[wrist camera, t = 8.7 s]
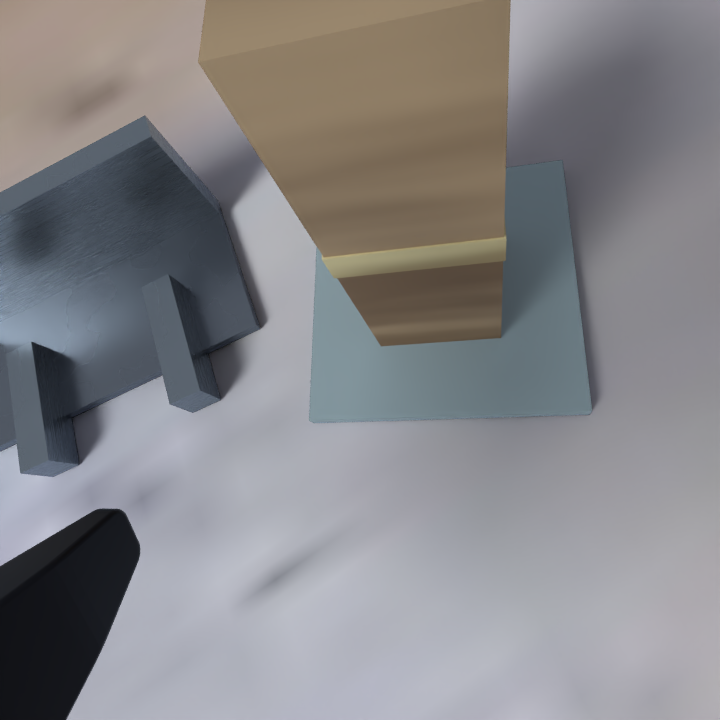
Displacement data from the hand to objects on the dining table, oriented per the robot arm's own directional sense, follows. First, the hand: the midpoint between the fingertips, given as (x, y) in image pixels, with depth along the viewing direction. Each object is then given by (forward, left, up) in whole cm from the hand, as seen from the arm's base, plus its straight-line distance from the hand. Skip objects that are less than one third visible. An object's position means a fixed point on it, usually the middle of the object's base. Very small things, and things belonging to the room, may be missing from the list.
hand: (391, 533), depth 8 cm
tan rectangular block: (+4, -7, -9) cm, 12 cm away
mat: (+4, -7, -9) cm, 12 cm away
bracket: (+15, 0, -9) cm, 17 cm away
